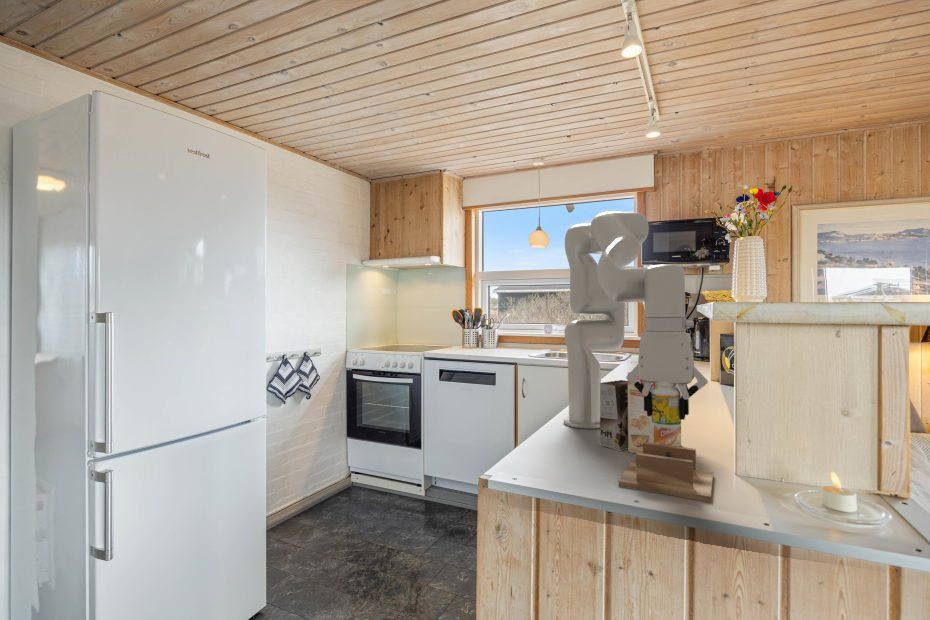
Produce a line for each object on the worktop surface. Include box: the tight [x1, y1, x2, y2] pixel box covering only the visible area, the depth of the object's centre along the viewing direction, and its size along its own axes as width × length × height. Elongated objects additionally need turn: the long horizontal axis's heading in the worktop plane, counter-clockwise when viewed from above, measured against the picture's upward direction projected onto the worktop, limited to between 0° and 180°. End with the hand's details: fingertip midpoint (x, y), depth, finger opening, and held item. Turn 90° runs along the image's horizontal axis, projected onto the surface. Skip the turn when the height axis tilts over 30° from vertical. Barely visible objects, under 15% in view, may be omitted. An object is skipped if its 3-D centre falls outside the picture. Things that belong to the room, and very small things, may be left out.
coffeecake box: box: [627, 371, 682, 455], centre depth 113 cm, size 15×7×20 cm, turn 132°
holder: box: [617, 442, 714, 503], centre depth 92 cm, size 14×16×6 cm
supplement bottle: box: [651, 381, 682, 429], centre depth 92 cm, size 5×5×10 cm
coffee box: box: [599, 379, 628, 452], centre depth 117 cm, size 9×6×16 cm
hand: (666, 415), depth 92 cm, fingers closed on supplement bottle, 5 cm apart
